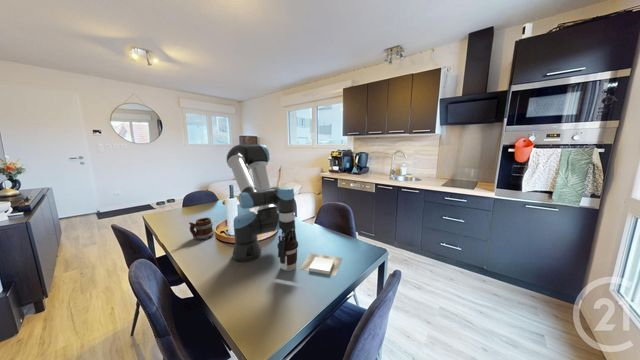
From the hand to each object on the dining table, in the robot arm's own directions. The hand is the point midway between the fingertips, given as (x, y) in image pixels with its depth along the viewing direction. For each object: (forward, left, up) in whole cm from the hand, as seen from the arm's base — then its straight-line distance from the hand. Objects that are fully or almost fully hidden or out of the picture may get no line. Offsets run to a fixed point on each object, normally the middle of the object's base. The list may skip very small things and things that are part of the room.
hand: (288, 263), depth 107 cm
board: (+15, +7, -3) cm, 17 cm away
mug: (-70, +17, -3) cm, 72 cm away
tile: (+16, +9, -1) cm, 18 cm away
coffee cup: (0, 0, -3) cm, 3 cm away
